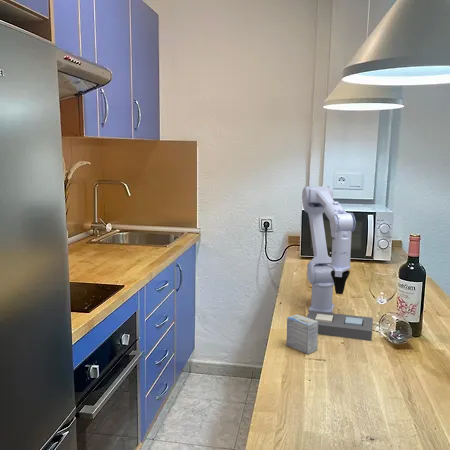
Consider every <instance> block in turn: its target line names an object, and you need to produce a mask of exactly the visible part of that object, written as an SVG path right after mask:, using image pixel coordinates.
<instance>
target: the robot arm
mask: <svg viewBox="0 0 450 450" xmlns="http://www.w3.org/2000/svg"><path fill="white" fill-rule="evenodd" d="M301 193H302V194H301V200H302V208H303V211H304V212H306V213H307V214H308V215H307V216H308V218H309V219H308V221H309V228H310V234H311V242H312V243H311V244H312V251H313V258H312V259H311V260H309V262H308V263H307V272H306V276H307V280H308V282H309V284H311V300H310V301H311V303H310V305H309V307H308V312H309V311H317V312H326V313H333V311H334V307H335V303H333V291H335V294H336V295H343V294H344V291H345V287H346V282H347V280H348V278H349V276H350V272H351V271H350V270H351V267H352V266H351V252H352V251H351V250H352V232H354V231H355V228H356V223H357V222H356V218H355V215H354V213H353V212H346V210H345V209H344V208H343V206H342V204H341V203H339V201H335V200H334V199H333V198H334V192H333V188H332V187H331V186H330V185H327V186H322V185H321V186H320V185H319V186H307V185H306V186H305V185H304V187H303V188H302V192H301ZM323 214H325V217H327V219H328V220H329V228H330V236H331V237H332V240H331V241H332V242H331V243H332V244H331V257H330V256H329V254H328V248H327V247H328V246H327V240H326V230H325V225H324V216H323Z"/></svg>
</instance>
